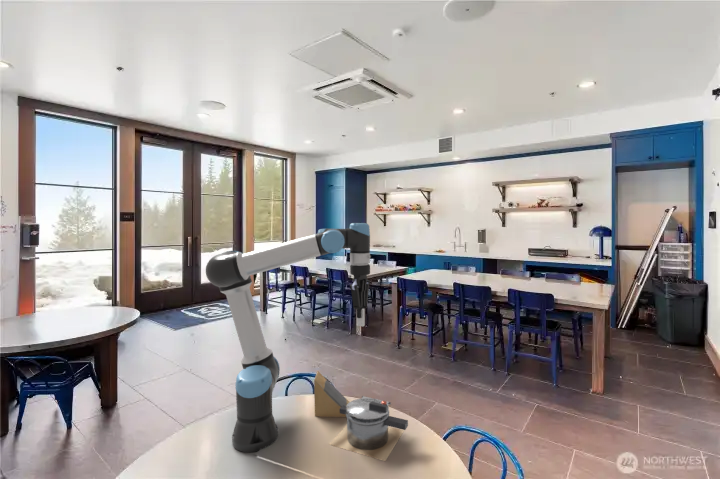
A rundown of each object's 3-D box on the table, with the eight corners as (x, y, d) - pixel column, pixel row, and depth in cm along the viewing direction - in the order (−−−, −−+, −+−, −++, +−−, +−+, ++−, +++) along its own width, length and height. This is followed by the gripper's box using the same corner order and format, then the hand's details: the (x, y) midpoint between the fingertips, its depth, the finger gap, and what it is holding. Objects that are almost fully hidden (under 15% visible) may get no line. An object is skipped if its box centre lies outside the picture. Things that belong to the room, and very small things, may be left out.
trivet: (328, 446, 122) (328, 444, 122) (353, 419, 138) (353, 417, 138) (385, 463, 113) (385, 461, 113) (404, 432, 129) (404, 430, 129)
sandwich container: (355, 418, 139) (354, 380, 138) (314, 418, 139) (313, 379, 138) (356, 407, 147) (355, 370, 146) (317, 406, 148) (317, 370, 147)
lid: (338, 413, 122) (338, 405, 122) (358, 396, 135) (358, 389, 135) (378, 423, 115) (379, 415, 116) (395, 405, 129) (395, 397, 129)
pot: (331, 441, 123) (330, 415, 123) (352, 418, 137) (351, 395, 137) (399, 461, 113) (398, 433, 112) (414, 434, 127) (414, 408, 127)
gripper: (361, 266, 131) (362, 331, 133) (376, 262, 143) (376, 322, 144) (343, 265, 135) (343, 329, 136) (358, 261, 146) (359, 320, 148)
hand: (360, 325), depth 140 cm, fingers closed
